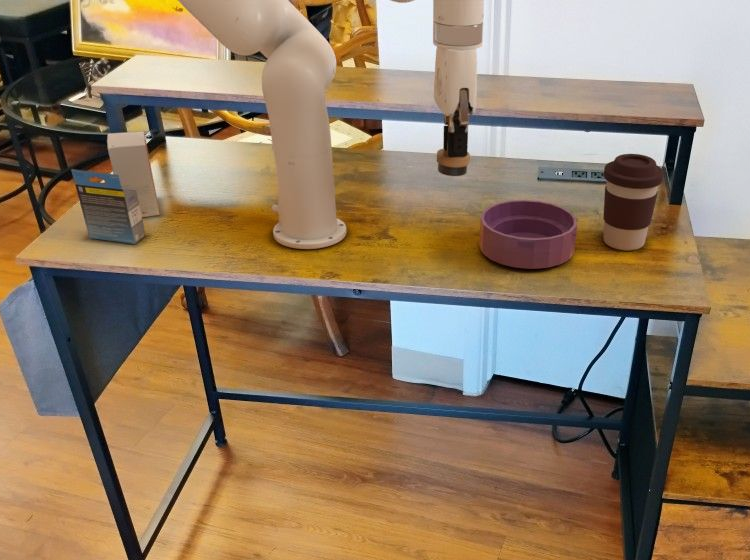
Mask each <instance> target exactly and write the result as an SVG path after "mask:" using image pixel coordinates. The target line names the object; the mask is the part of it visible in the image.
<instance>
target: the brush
mask: <svg viewBox="0 0 750 560" xmlns="http://www.w3.org/2000/svg"><path fill="white" fill-rule="evenodd" d="M455 112H459V110H455ZM456 119H458V118H455V120H456ZM447 126H448V125H447ZM448 132H450V115H449V126H448ZM447 149H448V142H447ZM470 158H471V154H470V152H468V151H467V156H463V157H449V156H448V154H447V151H445V150H444V148H439V149H437V152H436V162H437V171H438V172H439V173H440V174H442V175H444V176H448V177H461V176H465V175H466V174H467V172H468V165H470Z"/></svg>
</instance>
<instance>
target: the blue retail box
mask: <svg viewBox="0 0 750 560" xmlns="http://www.w3.org/2000/svg"><path fill="white" fill-rule="evenodd" d="M70 171H71V173H72V178H73V179H72V180H73V182H74V187H75V190H76V193H77V197H78V200H79V204H80V208H81V212H82V216H83V219H84V223H85V227H86V231H87V234H88V238H89V239H91V240H101V241H108V242H109V241H110V242H117V243H125V244H130V245H131V244H132V245H136V244H138V243H139V242H140V241H141V240H143V239H144V238H145V237H146V231H145V230H146V229H145V226H144V220H143V217H142V216H141V211H140V206H139V202H138V197H137V192H136V190H130V189H123V188H122V186H121V183H120V179H119V175H117V174H113V173H105V172H98V171H91V170H81V169H75V168H70ZM95 178H97V179H98V180H103V181H104V182H100V181H91V180H90V179H95Z"/></svg>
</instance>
